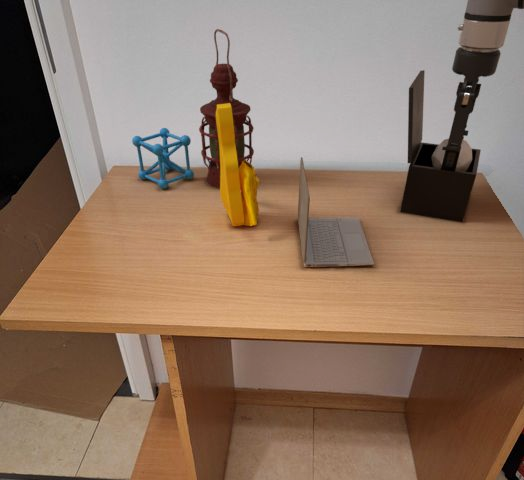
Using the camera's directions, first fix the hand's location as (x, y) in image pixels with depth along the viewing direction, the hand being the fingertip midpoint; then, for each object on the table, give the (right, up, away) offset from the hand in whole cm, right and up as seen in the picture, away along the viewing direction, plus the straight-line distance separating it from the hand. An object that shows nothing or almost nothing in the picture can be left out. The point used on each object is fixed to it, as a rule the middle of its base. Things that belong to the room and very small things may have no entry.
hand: (446, 175), depth 100 cm
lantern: (-46, +4, +14) cm, 49 cm away
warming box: (-1, -4, +4) cm, 6 cm away
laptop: (-25, -16, -8) cm, 31 cm away
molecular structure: (-61, +4, +15) cm, 63 cm away
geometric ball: (0, 0, 0) cm, 1 cm away
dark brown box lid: (-8, +10, -5) cm, 13 cm away
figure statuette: (-43, -10, -1) cm, 44 cm away
